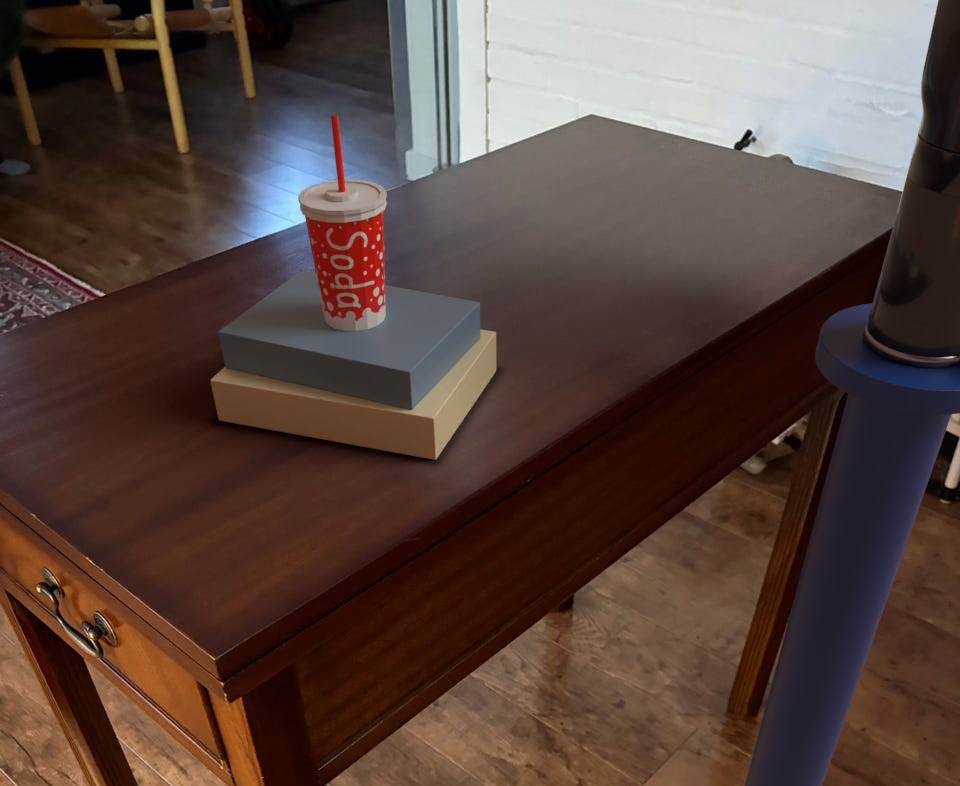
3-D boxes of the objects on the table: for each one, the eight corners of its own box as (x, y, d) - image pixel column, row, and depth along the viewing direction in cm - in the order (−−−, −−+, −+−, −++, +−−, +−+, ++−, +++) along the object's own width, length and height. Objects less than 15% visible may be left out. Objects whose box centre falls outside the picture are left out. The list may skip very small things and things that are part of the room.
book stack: (496, 371, 83) (496, 295, 78) (436, 460, 73) (432, 379, 69) (300, 340, 87) (289, 266, 83) (218, 420, 78) (201, 342, 73)
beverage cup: (301, 330, 74) (272, 126, 65) (332, 295, 79) (309, 99, 69) (379, 340, 73) (361, 133, 64) (406, 304, 77) (393, 105, 68)
